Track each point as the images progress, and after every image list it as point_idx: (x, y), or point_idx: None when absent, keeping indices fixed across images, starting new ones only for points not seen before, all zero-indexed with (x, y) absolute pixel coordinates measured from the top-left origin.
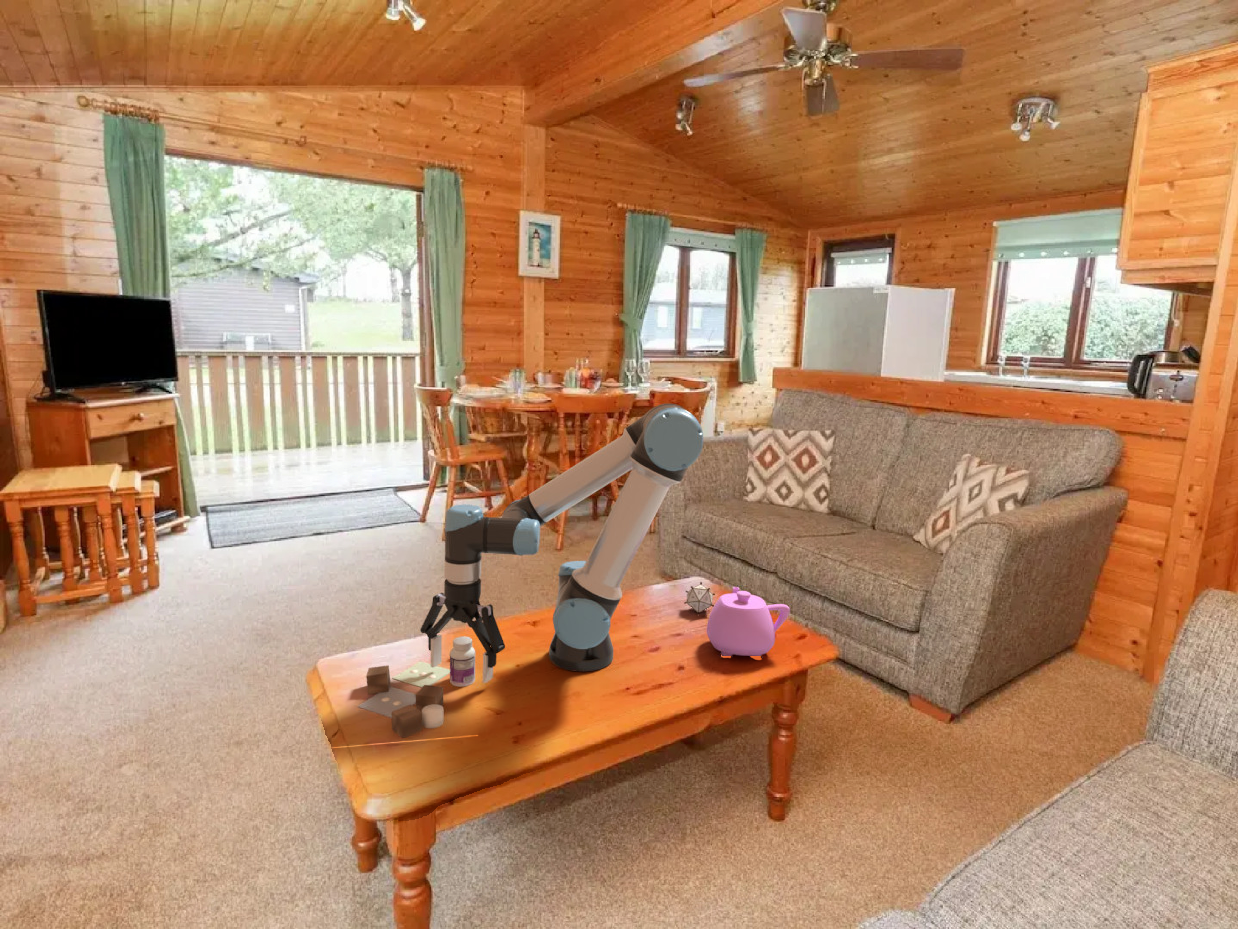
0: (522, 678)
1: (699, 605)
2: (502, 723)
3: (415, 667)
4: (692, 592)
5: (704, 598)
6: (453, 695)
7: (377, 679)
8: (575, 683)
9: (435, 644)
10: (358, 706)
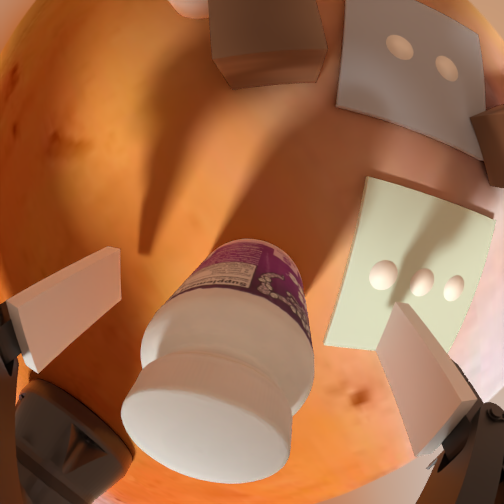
0: (95, 347)
1: None
2: (38, 104)
3: (455, 314)
4: None
5: None
6: (230, 171)
7: None
8: None
9: (435, 388)
10: (475, 33)
